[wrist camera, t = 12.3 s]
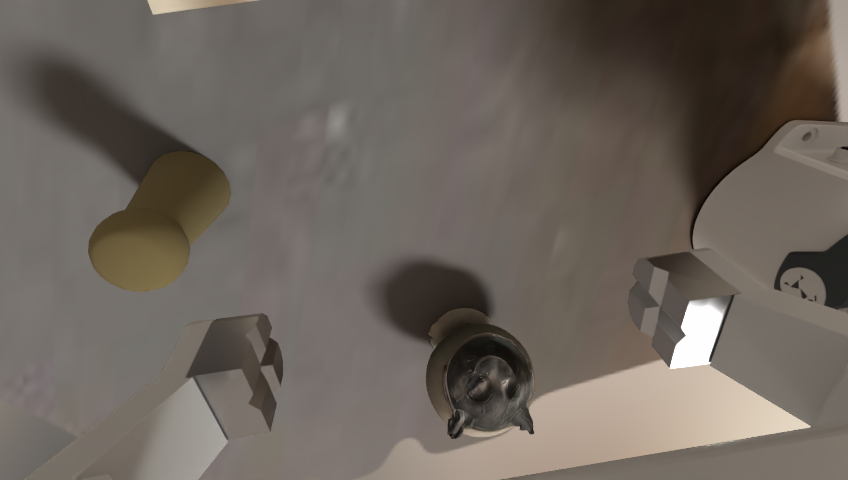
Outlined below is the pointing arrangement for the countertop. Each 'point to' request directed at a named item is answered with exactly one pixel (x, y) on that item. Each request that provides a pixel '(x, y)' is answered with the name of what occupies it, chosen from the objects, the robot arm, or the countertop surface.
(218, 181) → the cork
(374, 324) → the countertop surface
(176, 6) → the base plate
